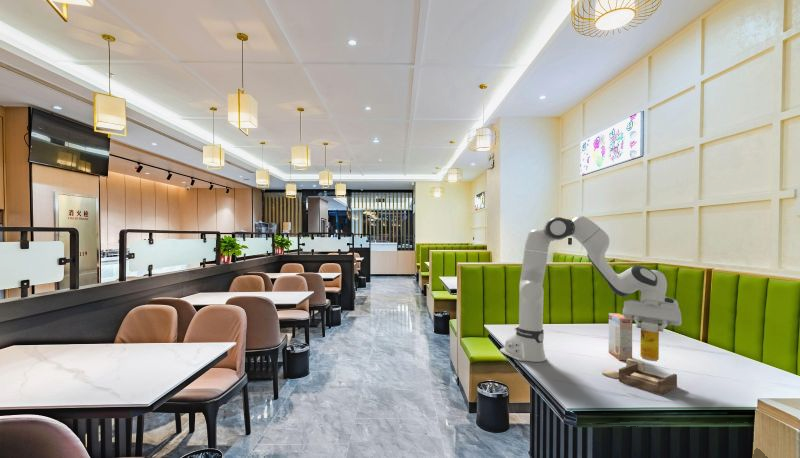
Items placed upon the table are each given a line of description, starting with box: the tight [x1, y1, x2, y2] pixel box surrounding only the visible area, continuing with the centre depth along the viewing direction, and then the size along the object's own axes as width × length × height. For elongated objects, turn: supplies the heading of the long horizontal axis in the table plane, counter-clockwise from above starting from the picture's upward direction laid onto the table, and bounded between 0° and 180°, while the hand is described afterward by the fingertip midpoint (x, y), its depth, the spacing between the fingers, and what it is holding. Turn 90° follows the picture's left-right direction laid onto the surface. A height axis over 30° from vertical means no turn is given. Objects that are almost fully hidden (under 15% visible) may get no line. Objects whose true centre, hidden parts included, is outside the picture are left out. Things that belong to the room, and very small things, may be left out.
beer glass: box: [639, 320, 660, 362], centre depth 142 cm, size 6×6×15 cm
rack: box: [618, 363, 678, 396], centre depth 140 cm, size 15×14×5 cm
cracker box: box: [608, 312, 633, 362], centre depth 174 cm, size 14×6×21 cm, turn 168°
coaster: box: [601, 369, 619, 380], centre depth 149 cm, size 8×8×1 cm
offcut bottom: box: [631, 373, 660, 385], centre depth 137 cm, size 9×4×4 cm, turn 38°
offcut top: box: [625, 358, 645, 371], centre depth 158 cm, size 6×4×3 cm
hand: (649, 328), depth 142 cm, fingers closed on beer glass, 6 cm apart
